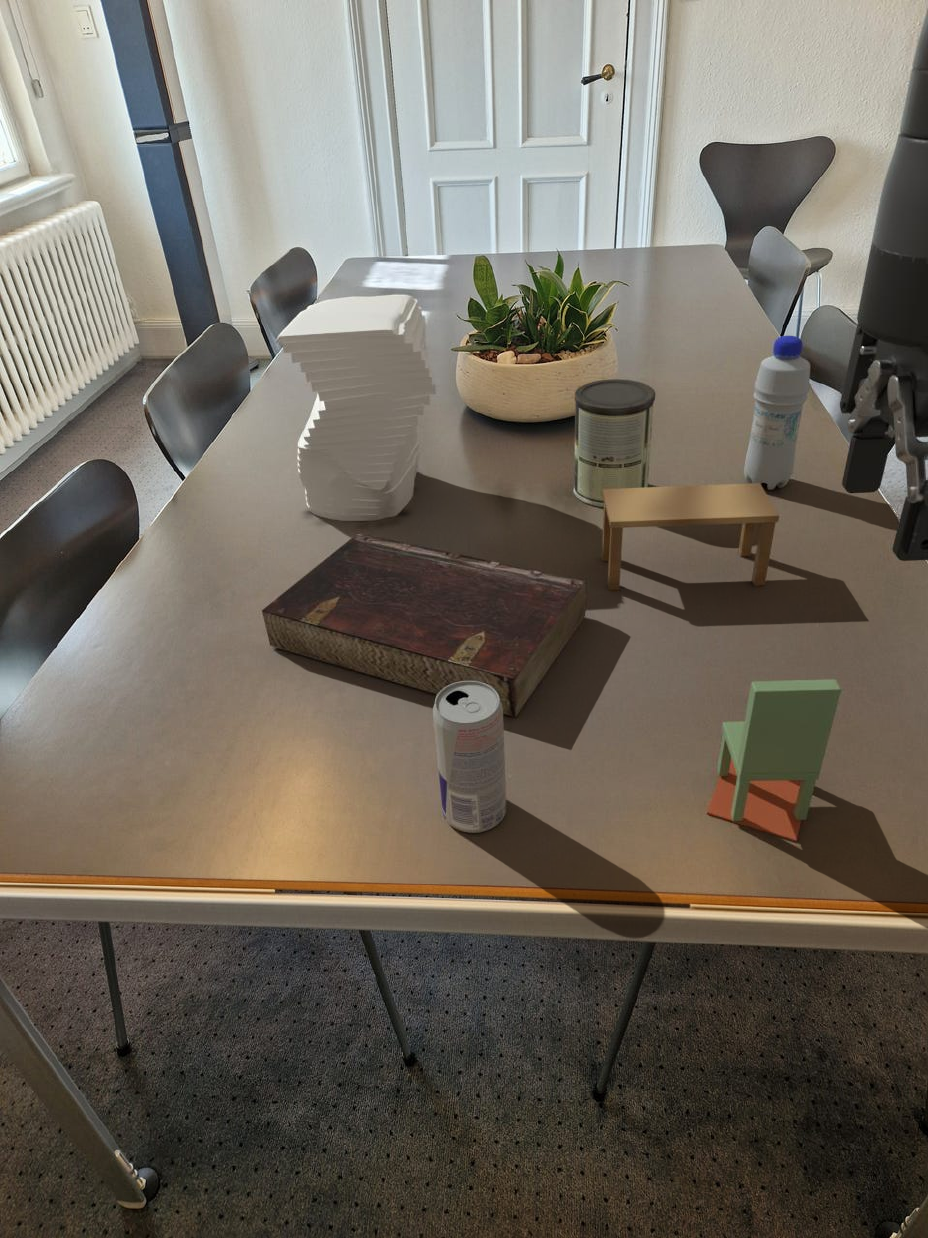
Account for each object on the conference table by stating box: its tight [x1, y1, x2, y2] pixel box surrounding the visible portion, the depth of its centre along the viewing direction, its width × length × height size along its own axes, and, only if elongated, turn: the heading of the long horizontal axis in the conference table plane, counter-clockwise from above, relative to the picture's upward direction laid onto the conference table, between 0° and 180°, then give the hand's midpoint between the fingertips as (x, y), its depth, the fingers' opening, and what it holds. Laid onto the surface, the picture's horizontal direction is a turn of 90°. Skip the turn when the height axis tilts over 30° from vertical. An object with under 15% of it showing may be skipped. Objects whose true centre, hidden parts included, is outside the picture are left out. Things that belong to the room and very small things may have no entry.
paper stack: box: [274, 293, 437, 522], centre depth 115 cm, size 21×27×26 cm
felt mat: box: [706, 758, 802, 842], centre depth 70 cm, size 7×7×1 cm
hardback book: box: [261, 532, 588, 718], centre depth 91 cm, size 29×19×5 cm, turn 63°
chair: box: [716, 678, 842, 821], centre depth 66 cm, size 6×6×14 cm
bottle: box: [743, 335, 811, 491], centre depth 111 cm, size 7×7×20 cm
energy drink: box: [432, 681, 507, 834], centre depth 68 cm, size 5×5×12 cm
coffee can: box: [573, 378, 656, 508], centre depth 114 cm, size 10×10×14 cm
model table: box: [601, 483, 780, 591], centre depth 97 cm, size 18×8×9 cm, turn 89°
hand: (884, 521), depth 52 cm, fingers open, 8 cm apart
